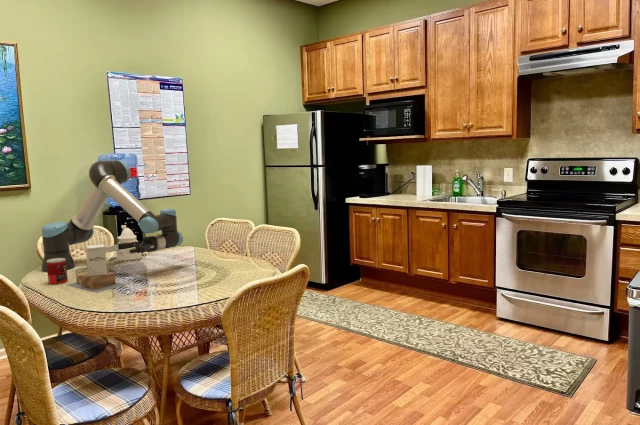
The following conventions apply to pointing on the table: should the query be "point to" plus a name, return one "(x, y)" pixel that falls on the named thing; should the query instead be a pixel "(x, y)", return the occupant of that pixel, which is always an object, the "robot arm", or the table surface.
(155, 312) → the table surface
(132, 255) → the honey pot
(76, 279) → the maple cube
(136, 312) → the table surface
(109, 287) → the slate mat
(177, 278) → the table surface
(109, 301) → the table surface
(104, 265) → the supplement box
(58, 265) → the canned food
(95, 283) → the walnut block
